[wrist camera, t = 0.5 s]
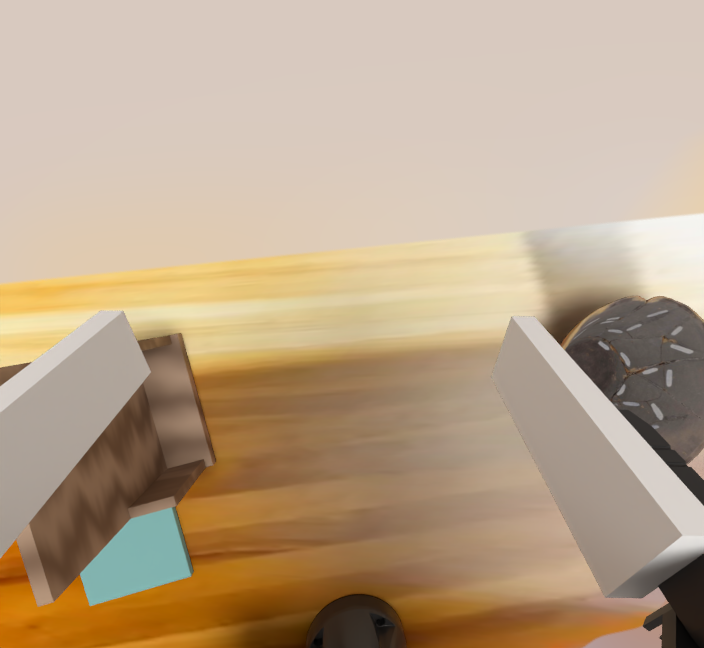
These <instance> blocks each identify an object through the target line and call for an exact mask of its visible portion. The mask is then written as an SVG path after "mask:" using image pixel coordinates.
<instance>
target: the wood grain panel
mask: <svg viewBox="0 0 704 648" xmlns="http://www.w3.org/2000/svg"><path fill="white" fill-rule="evenodd" d="M137 342H138V344H139V346H140V349H141V351H142V353H143V355H144V357H145V360H146V362H147V364H148V366H149V368H150V371H151V373H150V374H149V375H148V377H147V378H146V379H145V380H144V382H143V383H142V384H141V385H140V387H139V388H138V389H137V390H136V391H135V393H134V394H133V395H132V396H131V398H130V399H129V400H128V401H127V403H126V404H125V405H124V406H123V408H122V409H121V410H120V411H119V412H118V414H117V415H116V416H115V417H114V419H113V420H112V421H111V422H110V424H109V425H108V426H107V427H106V428H105V430H104V431H103V432H102V433H101V435H100V436H99V437H98V438H97V440H96V441H95V442H94V443H93V445H92V446H91V447H90V448H89V449H88V451H87V452H86V453H85V454H84V456H83V457H82V458H81V459H80V461H79V462H78V463H77V464H76V466H75V467H74V468H73V469H72V470H71V472H70V473H69V474H68V475H67V477H66V478H65V479H64V480H63V482H62V483H61V484H60V485H59V487H58V488H57V489H56V490H55V491H54V493H53V494H52V495H51V496H50V498H49V499H48V500H47V501H46V503H45V504H44V505H43V506H42V508H41V509H40V510H39V511H38V512H37V514H36V515H35V516H34V517H33V519H32V520H31V521H30V522H29V524H28V525H27V526H26V527H25V528H24V530H23V531H22V532H21V533H20V535H19V536H18V537H17V538H16V540H17V543H18V546H19V549H20V553H21V556H22V559H23V562H24V565H25V568H26V571H27V574H28V578H29V581H30V584H31V587H32V590H33V593H34V596H35V599H36V602H37V606H42V605H45V604H49V603H52V602H54V601H55V600H56V599H57V598H58V597H59V596H60V595H61V594H62V593H63V591H64V590H65V589H66V588H67V587H68V586H69V585H70V584H71V583H72V582H73V581H74V580H75V579H76V577H77V576H78V575H79V574H80V573H81V572H82V571H83V570H84V569H85V568H86V567H87V566H88V564H89V563H90V562H91V561H92V560H93V559H94V558H95V557H96V556H97V555H98V554H99V553H100V551H101V550H102V549H103V548H104V547H105V546H106V545H107V544H108V543H109V542H110V541H111V540H112V539H113V537H114V536H115V535H116V534H117V533H118V532H119V531H120V530H121V529H122V528H123V527H124V526H125V524H126V523H127V522H128V521H129V520H130V519H132V518H135V517H139V516H142V515H146V514H150V513H153V512H157V511H161V510H164V509H168V508H171V507H175V506H177V505H178V503H179V502H180V501H181V499H182V498H183V497H184V495H185V494H186V493H187V492H188V490H189V489H190V488H191V486H192V485H193V484H194V482H195V481H196V480H197V478H198V477H199V476H200V474H201V473H202V472H203V470H204V469H205V468H206V467H208V466H212V465H214V463H215V462H216V459H215V456H214V452H213V448H212V445H211V441H210V437H209V434H208V430H207V426H206V423H205V419H204V415H203V412H202V408H201V404H200V401H199V397H198V393H197V390H196V386H195V382H194V379H193V375H192V371H191V368H190V364H189V360H188V357H187V353H186V349H185V346H184V342H183V338H182V335H181V333H179V334H174V335H170V336H164V337H158V338H152V339H146V340H140V341H137ZM31 363H32V362H30V363H24V364H19V365H13V366H8V367H2V368H0V386H1V385H3V384H4V383H5V382H7V381H8V380H9V379H11V378H12V377H13V376H15V375H16V374H17V373H19V372H20V371H21V370H23V369H24V368H25V367H27V366H28V365H29V364H31Z"/></svg>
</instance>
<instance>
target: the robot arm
mask: <svg viewBox="0 0 704 648" xmlns="http://www.w3.org/2000/svg"><path fill="white" fill-rule="evenodd" d="M150 373H151V371H150V368H149V366H148V364H147V362H146V360H145V357H144V355H143V353H142V351H141V349H140V346H139V344H138V342H137V340H136V338H135V335H134V333H133V331H132V329H131V327H130V324H129V322H128V320H127V318H126V316H125V313H124V311H100V312H98V313H97V314H96V315H94V316H93V317H92V318H90V319H89V320H88V321H86V322H85V323H84V324H82V325H81V326H80V327H78V328H77V329H76V330H74V331H73V332H72V333H70V334H69V335H68V336H66V337H65V338H64V339H63V340H61V341H60V342H59V343H57V344H56V345H55V346H53V347H52V348H51V349H49V350H48V351H47V352H45V353H44V354H43V355H41V356H40V357H39V358H37V359H36V360H35V361H33V362H32V363H31V364H29V365H28V366H27V367H25V368H24V369H23V370H21V371H20V372H19V373H17V374H16V375H15V376H13V377H12V378H11V379H9V380H8V381H7V382H5V383H4V384H3V385H1V386H0V558H1V557H2V556H3V554H4V553H5V552H6V551H7V549H8V548H9V547H10V546H11V545H12V543H13V542H14V541H15V540H16V538H17V537H18V536H19V535H20V533H21V532H22V531H23V530H24V528H25V527H26V526H27V525H28V524H29V522H30V521H31V520H32V519H33V517H34V516H35V515H36V514H37V512H38V511H39V510H40V509H41V508H42V506H43V505H44V504H45V503H46V501H47V500H48V499H49V498H50V496H51V495H52V494H53V493H54V491H55V490H56V489H57V488H58V487H59V485H60V484H61V483H62V482H63V480H64V479H65V478H66V477H67V475H68V474H69V473H70V472H71V470H72V469H73V468H74V467H75V466H76V464H77V463H78V462H79V461H80V459H81V458H82V457H83V456H84V454H85V453H86V452H87V451H88V449H89V448H90V447H91V446H92V445H93V443H94V442H95V441H96V440H97V438H98V437H99V436H100V435H101V433H102V432H103V431H104V430H105V428H106V427H107V426H108V425H109V424H110V422H111V421H112V420H113V419H114V417H115V416H116V415H117V414H118V412H119V411H120V410H121V409H122V408H123V406H124V405H125V404H126V403H127V401H128V400H129V399H130V398H131V396H132V395H133V394H134V393H135V391H136V390H137V389H138V388H139V387H140V385H141V384H142V383H143V382H144V380H145V379H146V378H147V377H148V375H149V374H150ZM491 378H492V380H493V382H494V384H495V386H496V388H497V390H498V392H499V394H500V396H501V397H502V399H503V401H504V403H505V405H506V407H507V409H508V411H509V413H510V415H511V417H512V419H513V421H514V423H515V424H516V426H517V428H518V430H519V432H520V434H521V436H522V438H523V440H524V442H525V444H526V446H527V448H528V450H529V452H530V453H531V455H532V457H533V459H534V461H535V463H536V465H537V467H538V469H539V471H540V473H541V475H542V477H543V479H544V481H545V482H546V484H547V486H548V488H549V490H550V492H551V494H552V496H553V498H554V500H555V502H556V504H557V506H558V508H559V510H560V511H561V513H562V515H563V517H564V519H565V521H566V523H567V525H568V527H569V529H570V531H571V533H572V535H573V537H574V538H575V540H576V542H577V544H578V546H579V548H580V550H581V552H582V554H583V556H584V558H585V560H586V562H587V564H588V566H589V567H590V569H591V571H592V573H593V575H594V577H595V579H596V581H597V583H598V585H599V587H600V589H601V591H602V593H603V595H604V596H605V598H643V597H645V596H646V595H647V594H649V593H650V592H652V591H653V590H655V589H656V588H657V587H659V588H660V590H661V591H662V593H663V595H664V596H665V598H666V599H667V601H668V602H669V603H668V604H667V605H665V606H663V607H662V608H660V609H658V610H657V611H655V612H654V613H652V614H650V615H649V616H647V617H646V619H645V621H644V624H643V627H644V628H646V629H647V630H648V631H651V630H652V629H654V628H656V627H657V626H659V625H661V624H662V635H661V636H660V639H661V640H662V648H704V480H703V479H702V478H701V477H700V476H699V475H698V474H697V473H696V472H695V471H694V470H693V469H692V468H691V467H688V466H687V464H686V463H687V462H686V461H685V460H684V459H683V458H682V457H681V456H680V455H679V454H678V453H677V452H676V451H675V450H672V449H671V446H670V445H669V444H668V442H667V441H666V440H665V439H664V438H663V437H662V436H661V435H660V434H659V433H658V432H657V431H656V430H655V429H654V428H653V427H652V426H651V425H649V424H648V423H647V422H645V421H644V420H642V419H641V418H639V417H638V416H637V415H635V414H634V413H632V412H631V411H629V410H617V408H616V407H615V406H614V405H613V404H612V403H611V402H610V401H609V399H608V398H607V397H606V396H605V395H604V394H603V393H602V392H601V391H600V389H599V388H598V387H597V386H596V385H595V384H594V383H593V382H592V380H591V379H590V378H589V377H588V376H587V375H586V374H585V373H584V372H583V370H582V369H581V368H580V367H579V366H578V365H577V364H576V363H575V361H574V360H573V359H572V358H571V357H570V356H569V355H568V354H567V352H566V351H565V350H564V349H563V348H562V347H561V346H560V345H559V344H558V342H557V341H556V340H555V339H554V338H553V337H552V336H551V335H550V333H549V332H548V331H547V330H546V329H545V328H544V327H543V326H542V325H541V323H540V322H539V321H538V320H537V319H536V318H535V317H525V316H512V317H511V320H510V323H509V325H508V328H507V331H506V334H505V337H504V340H503V343H502V346H501V349H500V352H499V355H498V358H497V361H496V364H495V367H494V370H493V373H492V376H491ZM306 648H407V645H406V639H405V635H404V631H403V627H402V624H401V621H400V619H399V617H398V615H397V614H396V612H395V611H394V610H393V609H392V608H391V607H390V606H389V605H388V604H387V603H385V602H384V601H382V600H380V599H378V598H375V597H372V596H367V595H352V596H347V597H344V598H341V599H338V600H336V601H334V602H332V603H331V604H329V605H328V606H326V607H325V608H324V609H323V610H322V611H321V612H320V613H319V614H318V615H317V616H316V618H315V619H314V621H313V622H312V624H311V626H310V628H309V631H308V634H307V638H306Z"/></svg>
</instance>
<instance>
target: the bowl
mask: <svg viewBox="0 0 704 648" xmlns="http://www.w3.org/2000/svg"><path fill="white" fill-rule="evenodd" d="M603 339H604V340H603ZM560 346H561V347H562V348H563V349H564V350H565V351H566V352H567V354H568V355H569V356H570V357H571V358H572V359H573V360H574V361H575V363H576V364H577V365H578V366H579V367H580V368H581V369H582V370H583V372H584V373H585V374H586V375H587V376H588V377H589V378H590V379H591V380H592V382H593V383H594V384H595V385H596V386H597V387H598V388H599V389H600V391H601V392H602V393H603V394H604V395H605V396H606V397H607V398H608V399H609V401H610V402H611V403H612V404H613V405H614V406H615V407H616V408H617V410H629V411H631V412H632V413H634V414H635V415H637V416H638V417H639V418H641V419H642V420H644V421H645V422H647V423H648V424H649V425H651V426H652V427H653V428H654V429H655V430H656V431H657V432H658V433H659V434H660V435H661V436H662V437H663V438H664V439H665V440H666V441H667V442H668V444H669V445H670V446H671V449H672V450H675V451H676V452H677V453H678V454H679V455H680V456H681V457H682V458H683V459H684V460H685V461H686V462H687V463H686V464H689V463H690V462H691V461H692V460H693V459H694V458H695V457H696V456H697V455H698V454H699V453H700V452H701V450H702V449H703V448H704V320H703V319H702V318H701V317H700V316H699V315H698V314H697V313H696V312H695V311H693V310H692V309H691V308H690V307H689V306H687V305H685V304H683V303H680V302H678V301H675V300H673V299H671V298H667V297H664V296H657V297H653V298H651V299H649V300H645V299H644V298H641V297H640V296H630V297H625V298H622V299H619V300H616V301H614V302H612V303H609V304H607V305H605V306H603V307H601V308H599V309H597V310H596V311H594V312H592V313H591V314H590V315H588V316H587V317H586V318H584V319H583V320H582V321H581V322H579V323H578V324H577V325H576V326H575V327H574V328H573V329H572V330H571V331H570V332H569V334H568V335H567V336H566V337H565V339H564V340H563V342H562V343H561V345H560ZM633 372H636V373H635V374H633V375H630V376H628V375H627V373H633Z"/></svg>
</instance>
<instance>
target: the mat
mask: <svg viewBox="0 0 704 648" xmlns="http://www.w3.org/2000/svg"><path fill="white" fill-rule="evenodd" d="M192 574H193V568H192V565H191V561H190V557H189V554H188V550H187V547H186V543H185V540H184V536H183V533H182V529H181V526H180V522H179V519H178V515H177V512H176V508H175V507H171V508H168V509H164V510H161V511H157V512H153V513H150V514H146V515H142V516H139V517H135V518H132V519H130V520H129V521H128V522H127V523H126V524H125V526H124V527H123V528H122V529H121V530H120V531H119V532H118V533H117V534H116V535H115V536H114V537H113V539H112V540H111V541H110V542H109V543H108V544H107V545H106V546H105V547H104V548H103V549H102V550H101V551H100V553H99V554H98V555H97V556H96V557H95V558H94V559H93V560H92V561H91V562H90V563H89V564H88V566H87V567H86V568H85V569H84V570H83V571H82V572H81V573H80V576H81V579H82V582H83V585H84V589H85V592H86V595H87V598H88V602H89V605H90V606H92V605H95V604H98V603H102V602H105V601H109V600H112V599H115V598H119V597H122V596H126V595H129V594H133V593H136V592H139V591H143V590H146V589H150V588H153V587H156V586H160V585H163V584H167V583H170V582H173V581H177V580H180V579H184V578H187V577H190V576H192Z"/></svg>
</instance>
